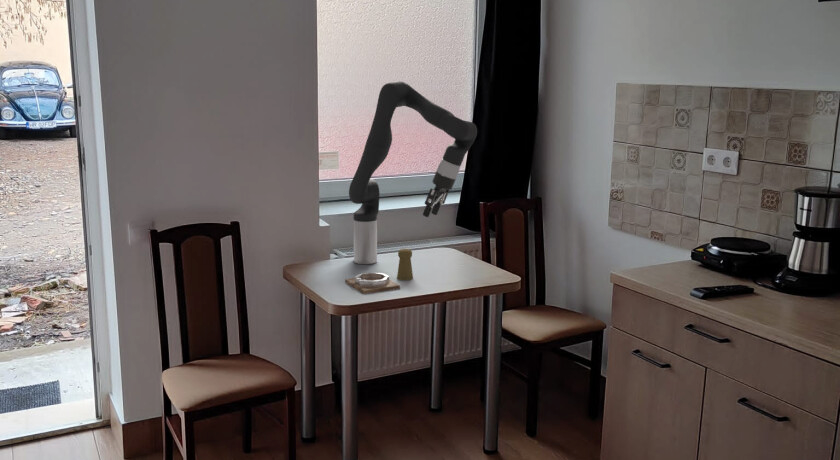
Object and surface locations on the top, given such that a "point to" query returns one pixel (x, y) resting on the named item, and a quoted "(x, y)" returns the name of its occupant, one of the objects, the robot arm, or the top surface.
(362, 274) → the metal collar
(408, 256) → the olive chess piece
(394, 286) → the walnut board
